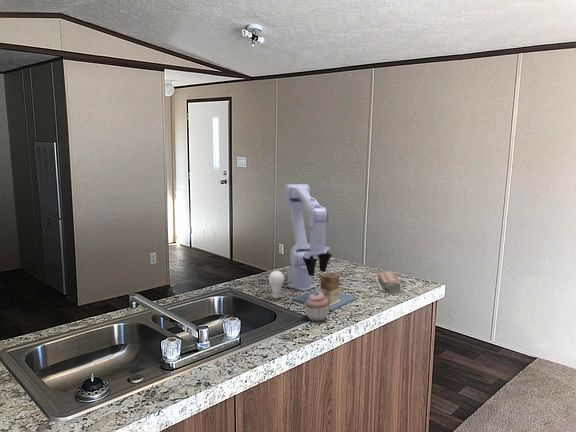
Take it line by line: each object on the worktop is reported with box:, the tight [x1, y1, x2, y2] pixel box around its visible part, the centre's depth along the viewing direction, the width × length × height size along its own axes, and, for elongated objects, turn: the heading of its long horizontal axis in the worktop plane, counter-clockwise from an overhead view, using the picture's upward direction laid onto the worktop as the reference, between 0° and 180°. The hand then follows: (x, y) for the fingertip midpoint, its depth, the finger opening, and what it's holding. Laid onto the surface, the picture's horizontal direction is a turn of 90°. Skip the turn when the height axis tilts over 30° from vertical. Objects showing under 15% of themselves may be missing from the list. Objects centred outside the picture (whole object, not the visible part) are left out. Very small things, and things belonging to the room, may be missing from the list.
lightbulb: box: [268, 270, 285, 300], centre depth 186 cm, size 6×6×11 cm
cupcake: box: [303, 291, 331, 322], centre depth 166 cm, size 9×9×10 cm
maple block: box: [319, 287, 340, 304], centre depth 182 cm, size 5×5×5 cm
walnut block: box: [319, 272, 340, 291], centre depth 182 cm, size 5×5×5 cm
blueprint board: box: [292, 287, 358, 312], centre depth 186 cm, size 18×18×1 cm
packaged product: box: [374, 270, 405, 294], centre depth 205 cm, size 18×5×10 cm
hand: (317, 273), depth 185 cm, fingers open, 7 cm apart
